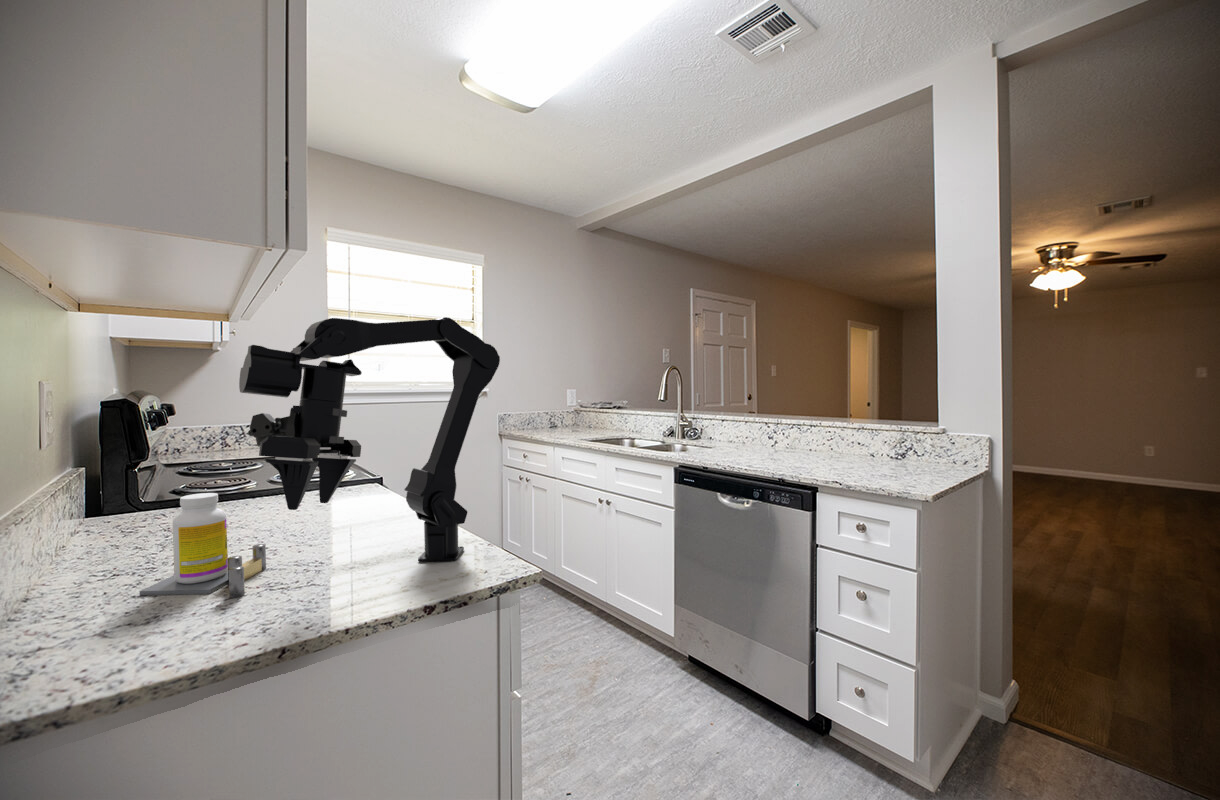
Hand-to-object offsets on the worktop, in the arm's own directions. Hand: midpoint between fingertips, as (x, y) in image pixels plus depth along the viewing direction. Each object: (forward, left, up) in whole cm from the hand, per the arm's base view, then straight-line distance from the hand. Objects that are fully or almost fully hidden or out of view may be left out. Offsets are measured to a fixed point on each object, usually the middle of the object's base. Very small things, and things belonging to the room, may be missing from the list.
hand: (309, 506), depth 77 cm
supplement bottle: (-5, -19, -12) cm, 23 cm away
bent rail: (-4, -12, -13) cm, 18 cm away
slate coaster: (-5, -19, -13) cm, 24 cm away
